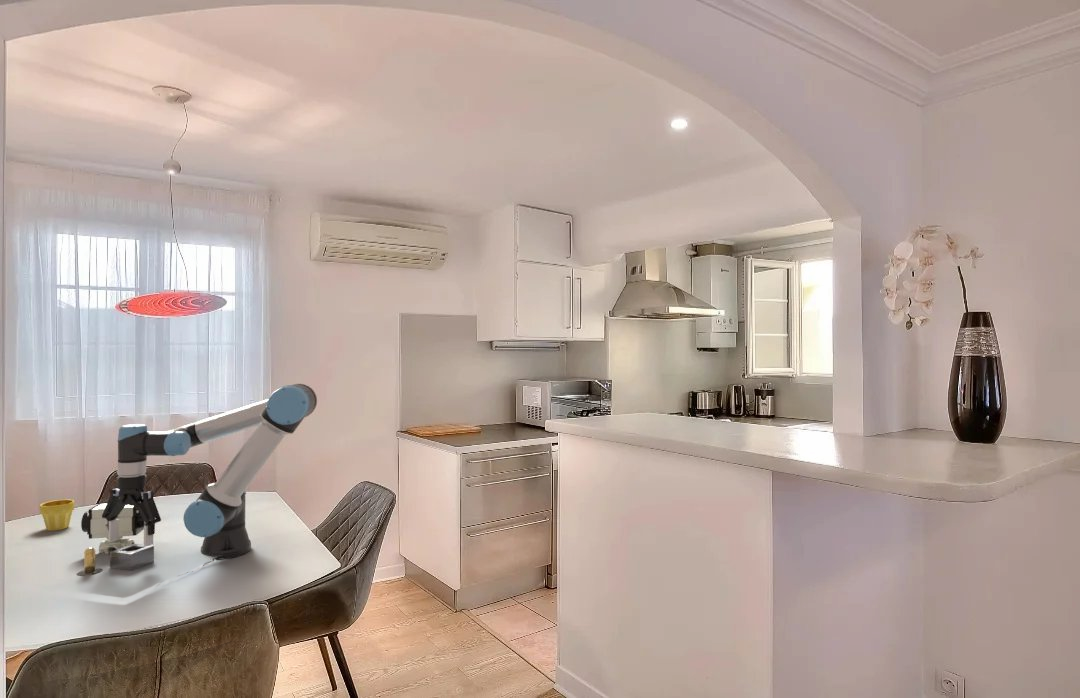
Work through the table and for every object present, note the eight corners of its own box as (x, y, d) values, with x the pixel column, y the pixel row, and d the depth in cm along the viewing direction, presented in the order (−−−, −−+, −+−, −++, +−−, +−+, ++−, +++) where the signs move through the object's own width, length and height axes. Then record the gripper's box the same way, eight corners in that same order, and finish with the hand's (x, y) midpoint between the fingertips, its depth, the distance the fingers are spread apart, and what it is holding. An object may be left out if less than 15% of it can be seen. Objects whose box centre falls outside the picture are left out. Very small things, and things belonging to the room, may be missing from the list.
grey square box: (153, 561, 192) (153, 545, 192) (131, 570, 185) (131, 554, 185) (133, 559, 194) (133, 543, 194) (110, 568, 187) (110, 551, 187)
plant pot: (40, 534, 225) (40, 507, 225) (39, 527, 233) (39, 502, 233) (75, 528, 232) (75, 503, 232) (73, 522, 240) (73, 497, 240)
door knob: (108, 574, 186) (108, 545, 186) (87, 581, 180) (87, 552, 180) (91, 572, 188) (91, 543, 188) (71, 579, 181) (70, 550, 181)
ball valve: (78, 560, 197) (78, 505, 197) (90, 552, 206) (90, 499, 205) (142, 555, 202) (142, 502, 202) (151, 547, 210) (151, 496, 210)
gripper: (174, 475, 190) (173, 543, 190) (111, 469, 196) (110, 535, 196) (154, 480, 183) (152, 551, 183) (88, 474, 189) (87, 542, 189)
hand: (130, 543), depth 190 cm, fingers open, 13 cm apart
